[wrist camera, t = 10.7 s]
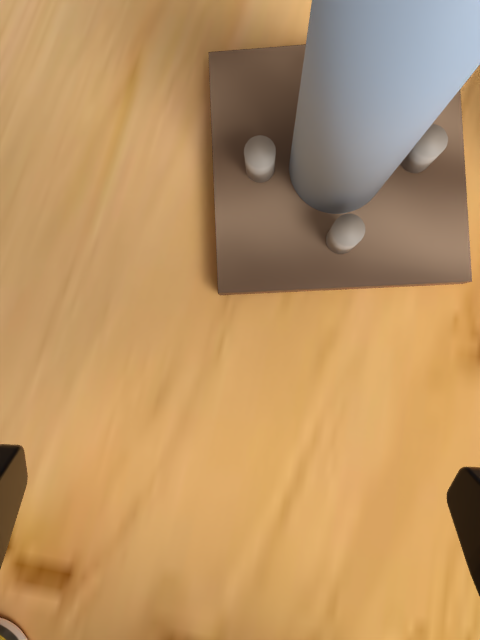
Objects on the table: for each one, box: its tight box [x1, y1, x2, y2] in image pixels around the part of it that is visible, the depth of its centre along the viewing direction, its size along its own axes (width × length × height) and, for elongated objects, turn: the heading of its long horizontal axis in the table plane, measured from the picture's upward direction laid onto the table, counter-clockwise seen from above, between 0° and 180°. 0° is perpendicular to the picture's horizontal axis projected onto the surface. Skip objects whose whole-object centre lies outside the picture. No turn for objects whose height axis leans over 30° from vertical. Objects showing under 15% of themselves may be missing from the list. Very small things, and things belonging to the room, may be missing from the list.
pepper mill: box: [289, 0, 480, 214], centre depth 13 cm, size 5×5×16 cm
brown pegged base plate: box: [209, 45, 472, 295], centre depth 20 cm, size 12×12×3 cm
